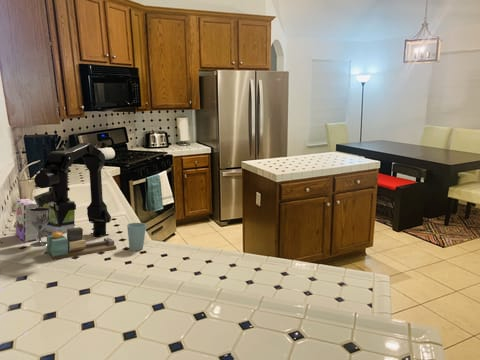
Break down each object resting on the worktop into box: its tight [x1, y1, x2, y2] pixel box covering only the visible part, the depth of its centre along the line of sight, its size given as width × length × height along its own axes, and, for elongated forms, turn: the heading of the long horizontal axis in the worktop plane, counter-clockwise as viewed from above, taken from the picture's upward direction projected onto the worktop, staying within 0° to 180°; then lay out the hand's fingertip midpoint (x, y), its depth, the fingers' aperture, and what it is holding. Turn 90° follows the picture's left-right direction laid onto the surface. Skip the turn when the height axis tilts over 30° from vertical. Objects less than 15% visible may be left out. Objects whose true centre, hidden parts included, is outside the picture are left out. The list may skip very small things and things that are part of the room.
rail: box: [45, 234, 117, 260], centre depth 145 cm, size 10×24×7 cm, turn 133°
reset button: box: [51, 232, 63, 238], centre depth 138 cm, size 4×4×1 cm
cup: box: [126, 222, 147, 251], centre depth 151 cm, size 8×8×10 cm
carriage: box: [66, 226, 87, 251], centre depth 142 cm, size 7×6×8 cm
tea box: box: [39, 200, 76, 234], centre depth 173 cm, size 15×10×15 cm, turn 58°
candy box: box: [14, 198, 39, 243], centre depth 158 cm, size 14×6×16 cm, turn 45°
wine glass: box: [29, 207, 51, 248], centre depth 150 cm, size 8×8×15 cm
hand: (59, 224), depth 138 cm, fingers closed
